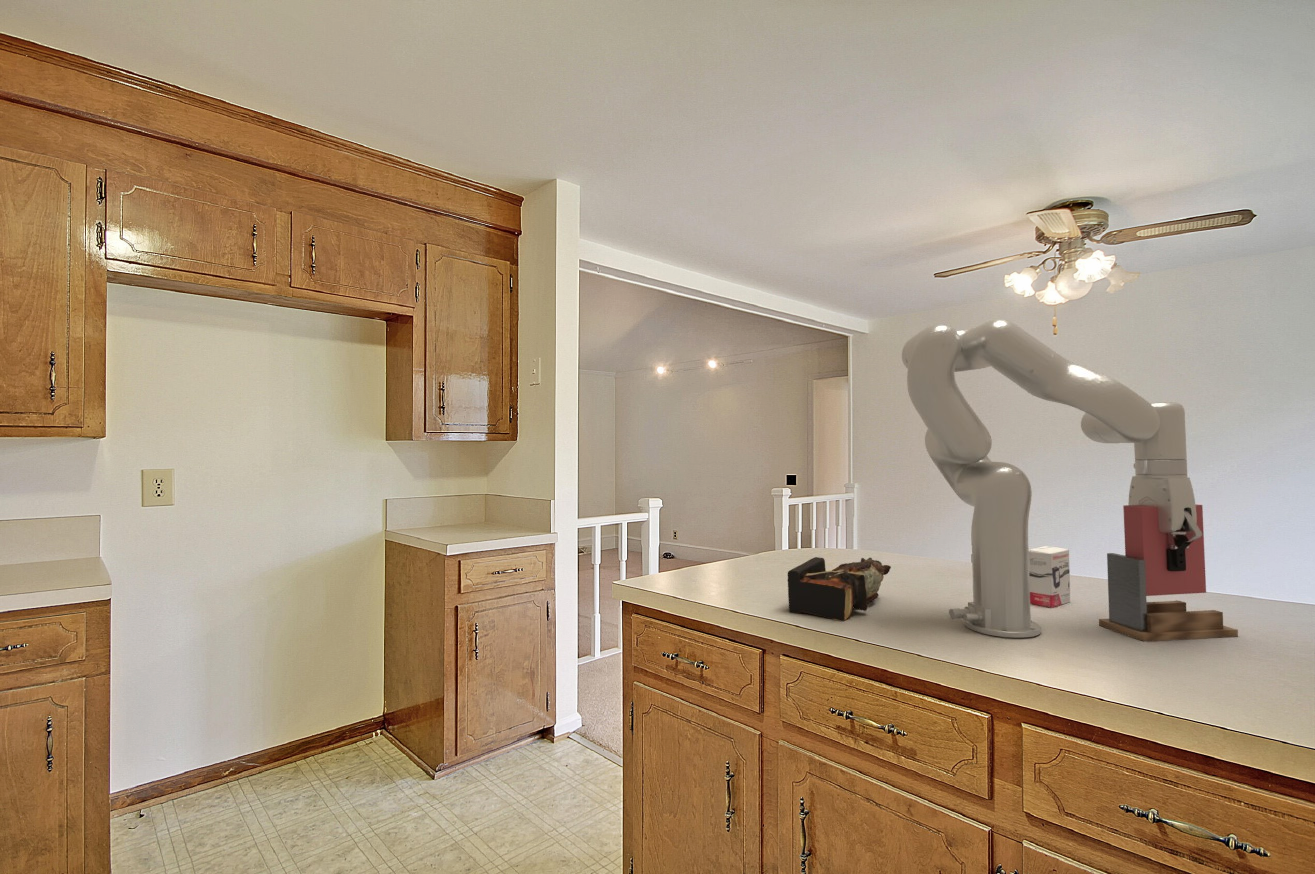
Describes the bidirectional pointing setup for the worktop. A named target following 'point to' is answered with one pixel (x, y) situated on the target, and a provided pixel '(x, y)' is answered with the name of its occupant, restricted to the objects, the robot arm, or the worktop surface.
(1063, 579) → the ink box
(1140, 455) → the robot arm
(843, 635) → the worktop surface
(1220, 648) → the worktop surface
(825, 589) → the bookend
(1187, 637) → the book rack
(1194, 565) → the book
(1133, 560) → the steel bookend
